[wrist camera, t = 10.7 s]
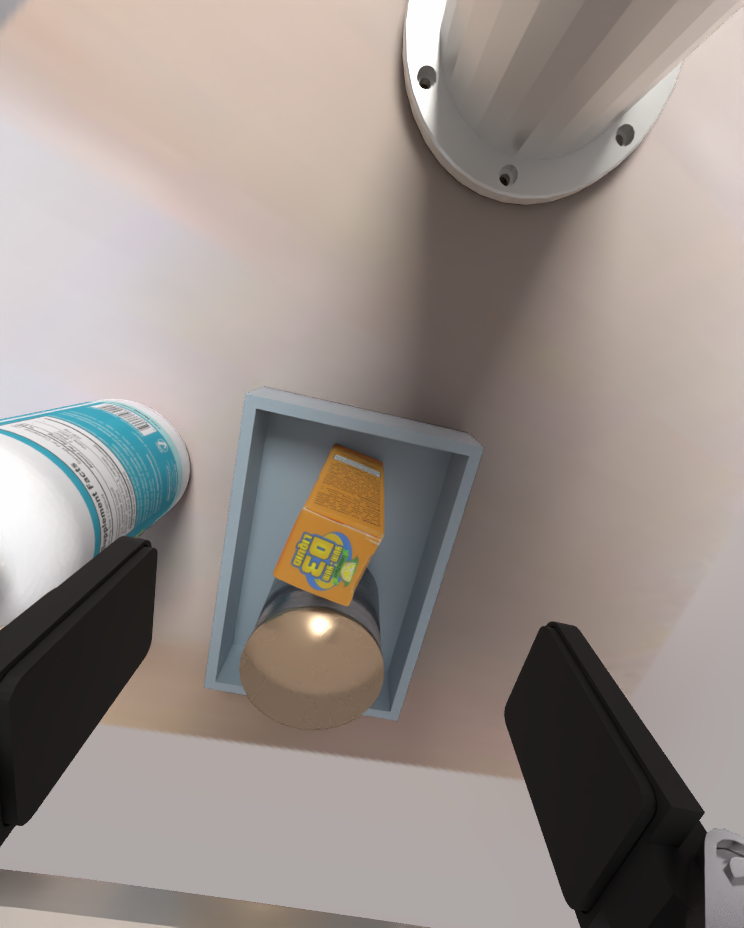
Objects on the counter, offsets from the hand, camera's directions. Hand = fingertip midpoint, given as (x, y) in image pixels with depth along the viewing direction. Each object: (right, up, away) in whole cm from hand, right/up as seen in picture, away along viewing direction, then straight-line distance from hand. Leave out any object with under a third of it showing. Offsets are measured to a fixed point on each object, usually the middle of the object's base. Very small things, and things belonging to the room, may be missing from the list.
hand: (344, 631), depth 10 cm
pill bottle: (-14, +4, +14) cm, 20 cm away
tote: (-2, -1, +16) cm, 16 cm away
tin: (-2, -5, +16) cm, 17 cm away
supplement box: (-1, +3, +14) cm, 15 cm away
